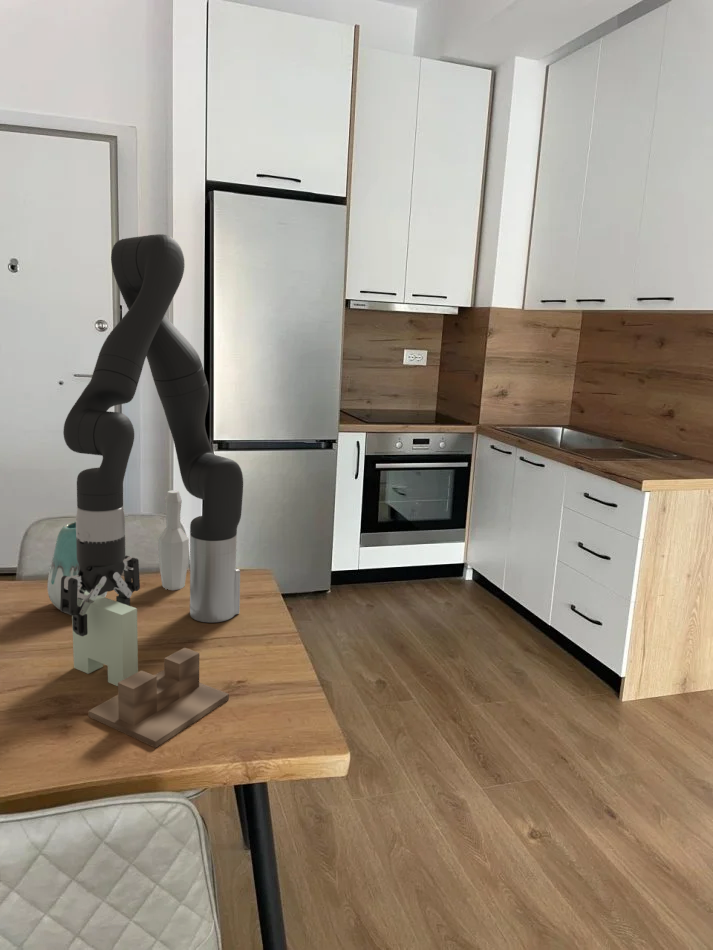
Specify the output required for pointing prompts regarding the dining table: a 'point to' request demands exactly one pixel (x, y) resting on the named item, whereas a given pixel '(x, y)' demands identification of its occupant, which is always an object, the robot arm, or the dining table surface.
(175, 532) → the faceted bottle
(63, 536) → the vase
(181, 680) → the slot plate
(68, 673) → the dining table surface
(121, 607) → the upright sage green panel
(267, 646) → the dining table surface
